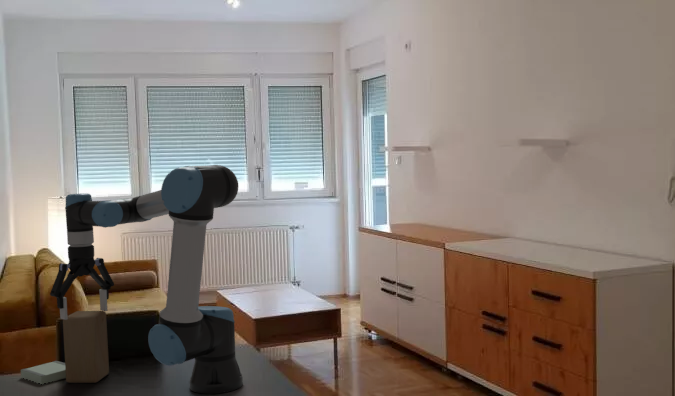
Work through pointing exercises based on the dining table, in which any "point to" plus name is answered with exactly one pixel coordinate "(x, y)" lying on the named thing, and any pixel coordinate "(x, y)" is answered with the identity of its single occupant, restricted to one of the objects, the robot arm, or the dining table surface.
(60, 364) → the dock
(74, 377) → the wooden block
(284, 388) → the dining table surface
